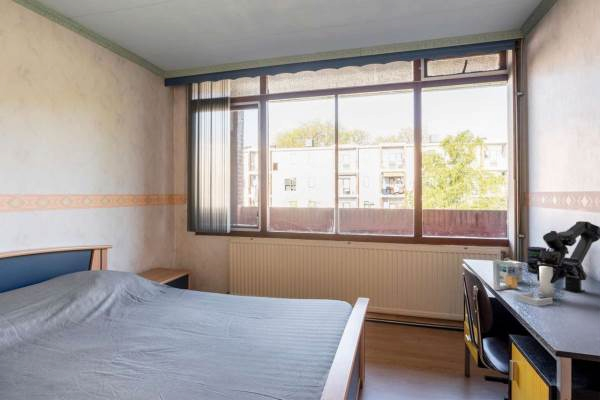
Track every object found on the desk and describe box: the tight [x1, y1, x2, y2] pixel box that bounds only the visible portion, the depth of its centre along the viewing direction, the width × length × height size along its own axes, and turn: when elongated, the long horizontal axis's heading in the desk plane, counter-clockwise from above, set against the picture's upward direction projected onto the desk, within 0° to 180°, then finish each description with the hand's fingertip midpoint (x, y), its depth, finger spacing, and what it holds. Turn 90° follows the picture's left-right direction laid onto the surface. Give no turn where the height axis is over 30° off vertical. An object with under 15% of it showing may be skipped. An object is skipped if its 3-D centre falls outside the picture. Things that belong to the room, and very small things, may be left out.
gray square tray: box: [516, 292, 554, 307], centre depth 143 cm, size 9×9×2 cm
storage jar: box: [526, 246, 548, 275], centre depth 195 cm, size 10×10×15 cm
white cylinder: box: [537, 266, 557, 299], centre depth 147 cm, size 7×7×13 cm
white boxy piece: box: [492, 259, 518, 291], centre depth 159 cm, size 13×13×15 cm
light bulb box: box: [500, 260, 523, 284], centre depth 177 cm, size 11×7×11 cm, turn 105°
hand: (544, 281), depth 147 cm, fingers closed on white cylinder, 5 cm apart
